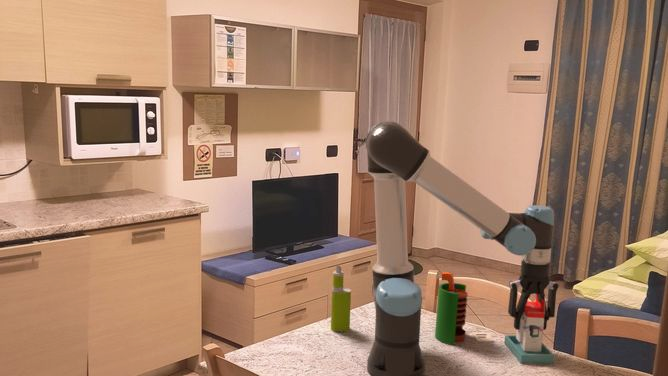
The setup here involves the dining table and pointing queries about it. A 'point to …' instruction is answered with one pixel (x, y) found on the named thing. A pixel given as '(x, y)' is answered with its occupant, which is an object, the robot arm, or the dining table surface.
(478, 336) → the label card
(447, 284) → the motor
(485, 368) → the dining table surface
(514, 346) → the tray
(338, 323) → the vape
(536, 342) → the ink box
